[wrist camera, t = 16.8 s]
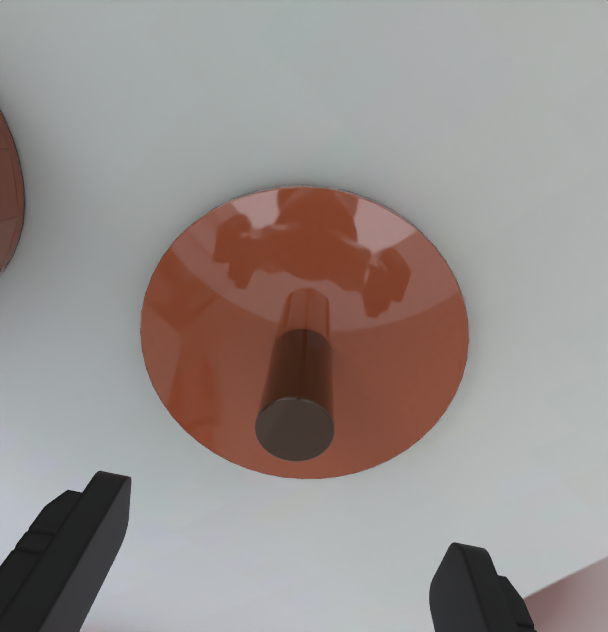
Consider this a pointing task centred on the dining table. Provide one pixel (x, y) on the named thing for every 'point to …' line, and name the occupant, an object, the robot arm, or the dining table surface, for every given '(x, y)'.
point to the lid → (304, 332)
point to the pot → (9, 196)
